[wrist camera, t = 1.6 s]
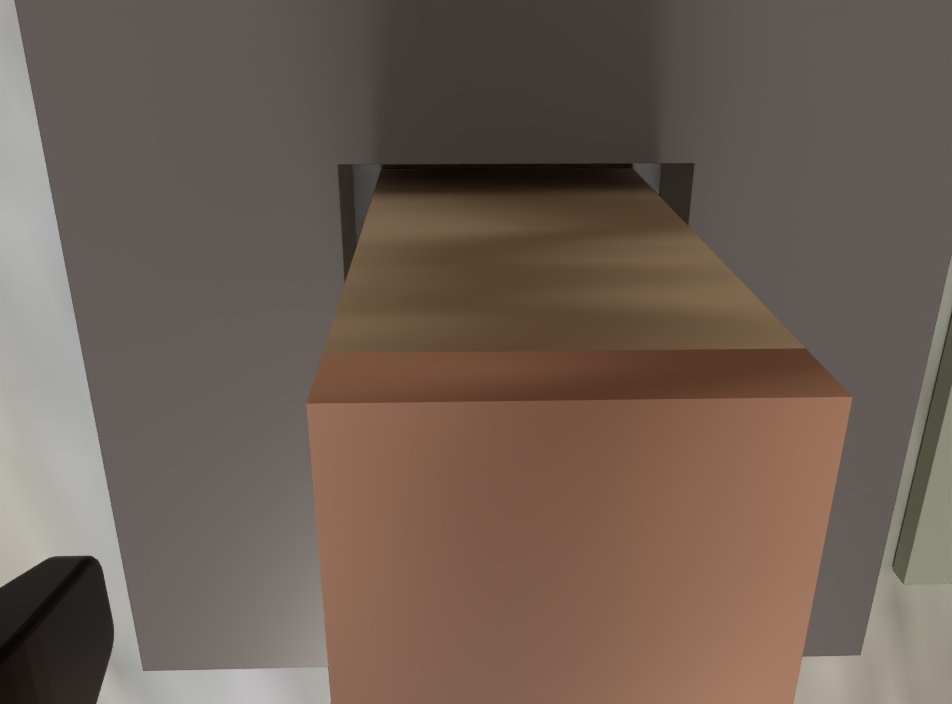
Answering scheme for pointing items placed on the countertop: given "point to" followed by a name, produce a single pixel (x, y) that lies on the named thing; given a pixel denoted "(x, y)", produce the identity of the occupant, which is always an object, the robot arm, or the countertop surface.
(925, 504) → the rubber mat
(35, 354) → the countertop surface
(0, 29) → the countertop surface
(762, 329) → the wooden plug
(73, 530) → the countertop surface
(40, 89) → the grey flat square slab
